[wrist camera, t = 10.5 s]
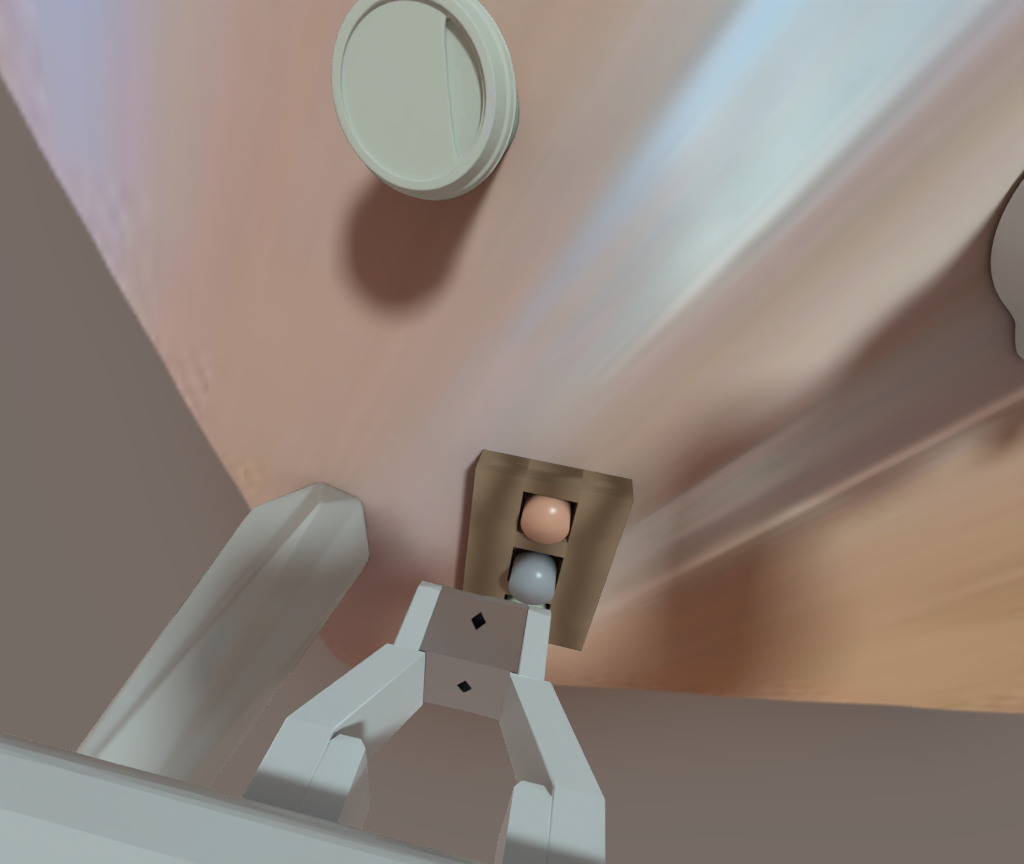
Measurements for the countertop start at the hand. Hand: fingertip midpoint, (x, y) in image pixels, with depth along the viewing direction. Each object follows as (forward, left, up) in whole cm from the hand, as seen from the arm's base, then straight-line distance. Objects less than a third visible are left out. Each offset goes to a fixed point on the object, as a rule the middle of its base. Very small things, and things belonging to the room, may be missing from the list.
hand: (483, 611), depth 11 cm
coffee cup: (+8, -10, -29) cm, 32 cm away
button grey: (-2, +27, -27) cm, 38 cm away
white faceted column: (+20, +28, -29) cm, 45 cm away
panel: (-2, +27, -29) cm, 40 cm away
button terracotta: (-2, +20, -28) cm, 34 cm away
